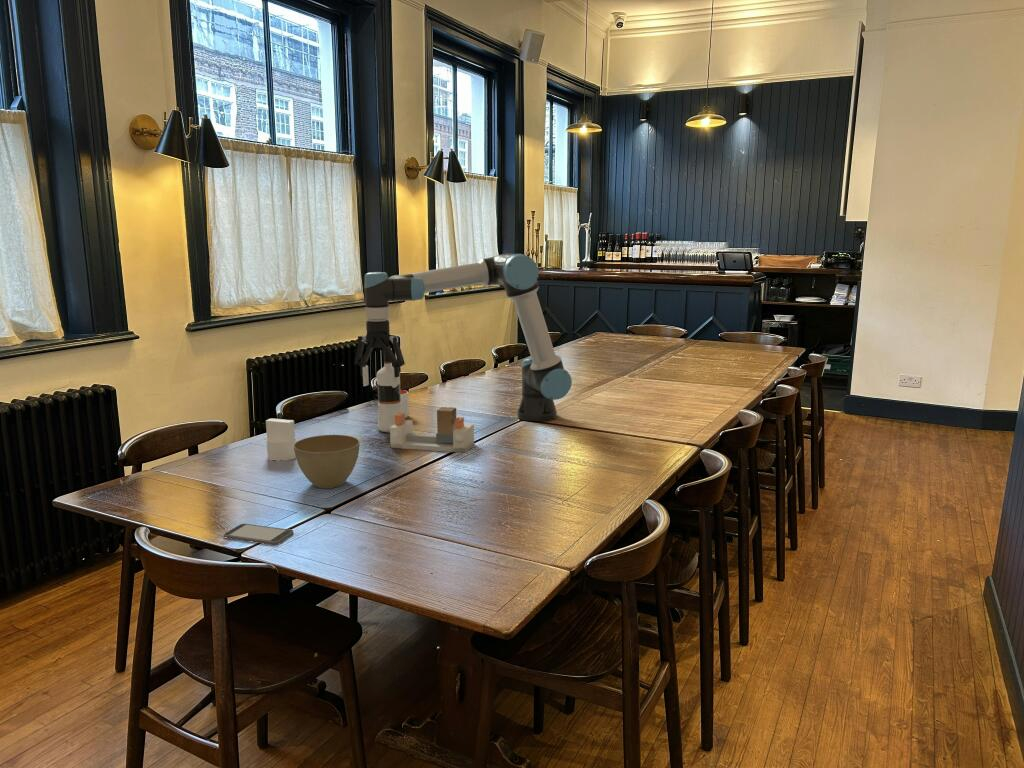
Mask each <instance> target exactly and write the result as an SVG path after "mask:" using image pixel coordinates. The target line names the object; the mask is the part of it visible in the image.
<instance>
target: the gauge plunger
mask: <svg viewBox="0 0 1024 768" xmlns="http://www.w3.org/2000/svg"><path fill="white" fill-rule="evenodd" d="M394 418H395V424H399V425H400V424H402V423H403V422H405V420H406V418H405V413H398V414H396V415H394Z"/></svg>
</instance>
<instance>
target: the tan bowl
mask: <svg viewBox="0 0 1024 768" xmlns="http://www.w3.org/2000/svg"><path fill="white" fill-rule="evenodd" d="M360 444H361V443H360V440H359V439H358V438H357V437H354V436H352V435H346V434H345V435H344V434H322V435H321V434H320V435H314V436H308V437H305V438H302V439H300V440H298V441H297V440H296V443H295V444H294V452H295V456H296V457H295V459H296V462H297V465H298V467H299V469H300V471H301V473H303V475H304V476H305V478H306V479H307V480H308V481H309V482H310V483H311V485H312V486H314V487H316V488H319V489H331V488H337V487H340V486H342V485H343V484H344V483H345V482H346V481H347V480H348V478H349V477H350V476H351V474H352V472H353V470H354V468H355V466H356V464H357V461H358V457H359V453H360V452H359V451H360Z"/></svg>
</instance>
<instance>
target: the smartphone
mask: <svg viewBox="0 0 1024 768" xmlns="http://www.w3.org/2000/svg"><path fill="white" fill-rule="evenodd" d="M292 536H294V530H293V529H289V528H280V527H274V526H267V525H258V524H251V523H241V524H239V525H237V526H235V527H233V528H232V529H230V530H228V531H226V532H225V533H223V538H224V537H227V538H232V539H231V540H234V539H238V540H237V541H241V540H244V541H243V542H248V541H253V542H252V543H255V542H260V543H259V544H262V543H264V545H269V544H270V546H278V545H279V543H280V544H281V543H282V542H284V541H286V540H287V539H288V538H290V537H292ZM227 538H226V539H227Z"/></svg>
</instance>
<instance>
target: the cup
mask: <svg viewBox="0 0 1024 768" xmlns="http://www.w3.org/2000/svg"><path fill="white" fill-rule="evenodd" d="M400 396H401V401H400V402H401V413H405V419H407V418H408V417H409V415H410V404H409V391H408V390H405V389H400Z"/></svg>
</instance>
